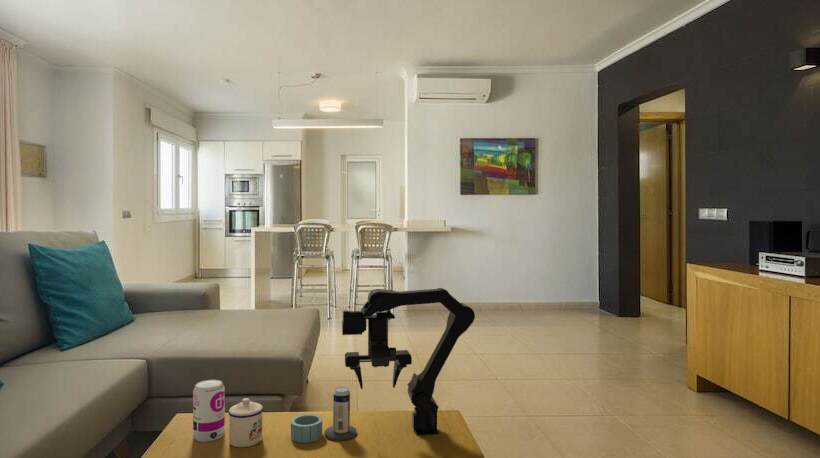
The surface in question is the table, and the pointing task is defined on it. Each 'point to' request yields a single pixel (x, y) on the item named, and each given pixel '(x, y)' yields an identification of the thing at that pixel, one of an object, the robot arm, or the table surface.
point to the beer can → (341, 410)
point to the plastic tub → (306, 428)
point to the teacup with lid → (245, 423)
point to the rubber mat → (340, 437)
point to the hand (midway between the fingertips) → (377, 388)
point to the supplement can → (208, 410)
